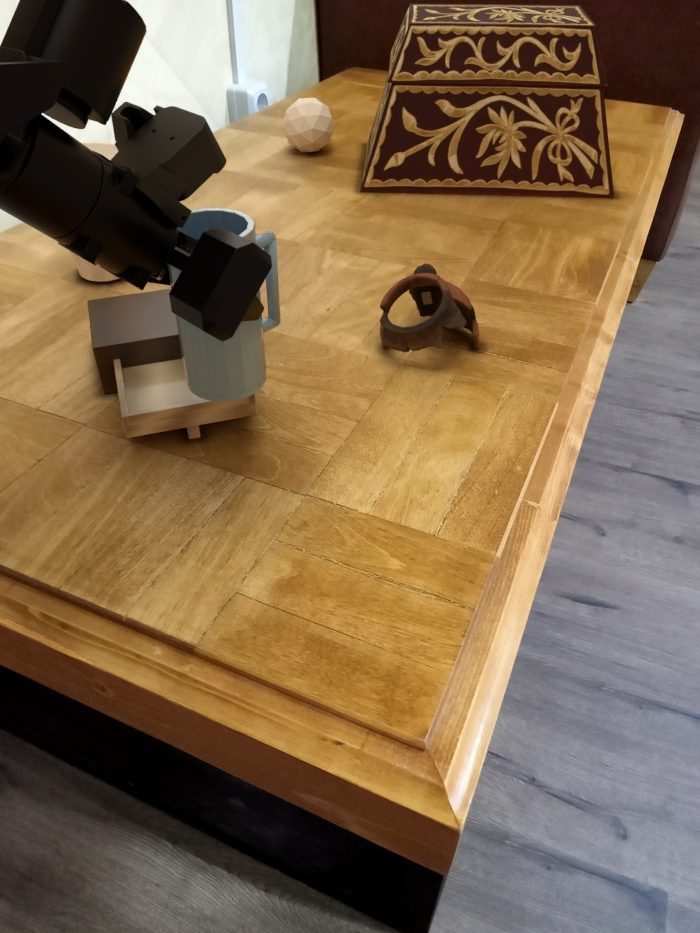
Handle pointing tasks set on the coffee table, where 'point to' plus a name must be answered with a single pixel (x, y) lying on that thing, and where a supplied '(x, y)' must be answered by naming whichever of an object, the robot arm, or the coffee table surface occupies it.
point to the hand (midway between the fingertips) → (232, 298)
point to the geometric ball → (308, 125)
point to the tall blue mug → (243, 356)
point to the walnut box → (150, 367)
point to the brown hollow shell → (427, 311)
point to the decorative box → (492, 104)
